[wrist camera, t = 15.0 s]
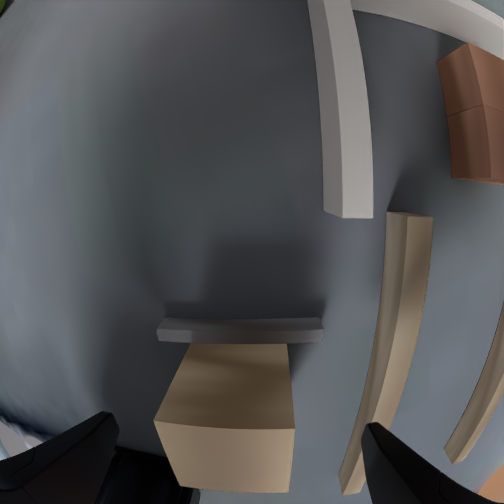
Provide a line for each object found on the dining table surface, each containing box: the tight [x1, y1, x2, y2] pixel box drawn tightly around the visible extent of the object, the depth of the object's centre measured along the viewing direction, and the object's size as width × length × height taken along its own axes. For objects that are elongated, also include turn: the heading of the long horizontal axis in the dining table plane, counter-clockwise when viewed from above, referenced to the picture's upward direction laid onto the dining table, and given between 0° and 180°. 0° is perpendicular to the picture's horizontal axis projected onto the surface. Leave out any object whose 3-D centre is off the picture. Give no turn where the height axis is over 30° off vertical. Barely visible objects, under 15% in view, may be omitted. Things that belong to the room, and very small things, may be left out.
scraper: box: [153, 317, 324, 493], centre depth 10 cm, size 7×5×6 cm, turn 92°
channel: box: [338, 212, 504, 496], centre depth 12 cm, size 10×18×2 cm, turn 2°
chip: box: [437, 42, 504, 117], centre depth 8 cm, size 3×3×3 cm
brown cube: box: [447, 105, 504, 184], centre depth 9 cm, size 3×3×3 cm
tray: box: [307, 0, 504, 218], centre depth 8 cm, size 16×11×3 cm
